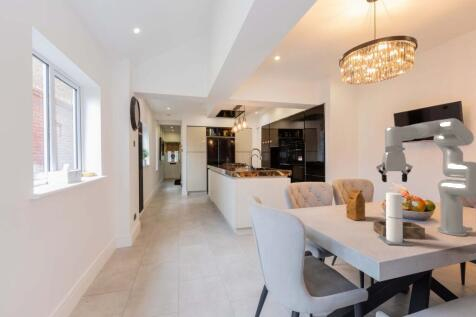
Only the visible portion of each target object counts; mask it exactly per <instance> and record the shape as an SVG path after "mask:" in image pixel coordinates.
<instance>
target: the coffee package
mask: <svg viewBox="0 0 476 317" xmlns="http://www.w3.org/2000/svg"><path fill="white" fill-rule="evenodd" d="M362 193H363V190H361V189H353V188H352V187H351V188H350V189H349V192H348V195H347V198H346V210H345V211H346V214H345V215H346V218H349V219H350V220H353V221H360V220H361V221H363V220H366V199H365V197H364V195H363V194H362Z"/></svg>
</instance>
